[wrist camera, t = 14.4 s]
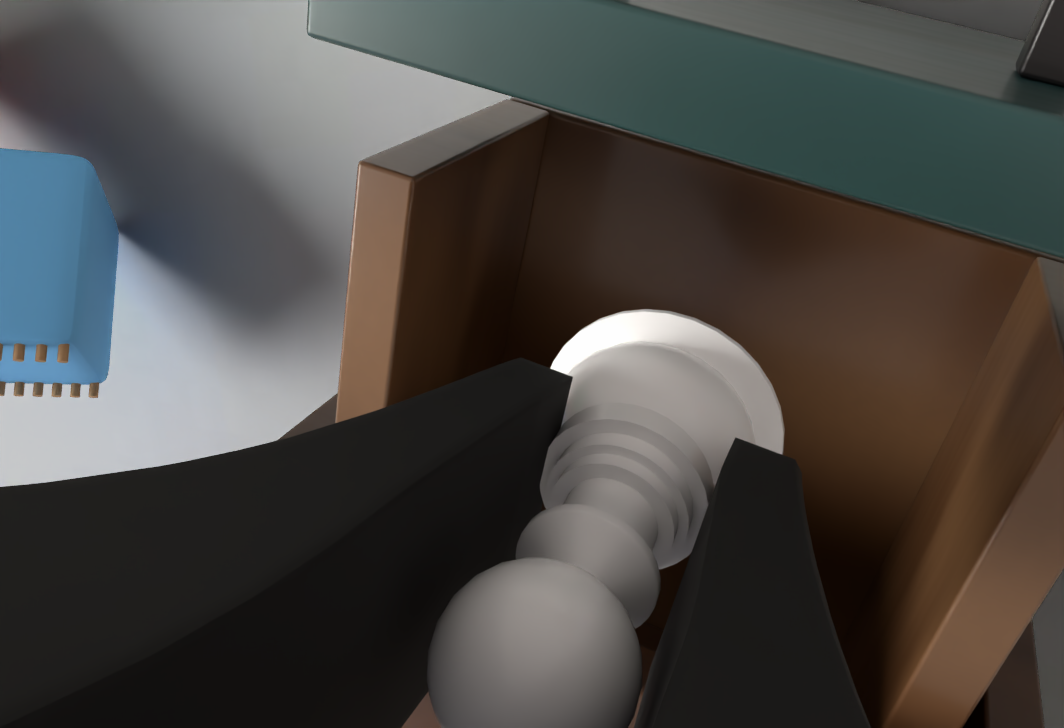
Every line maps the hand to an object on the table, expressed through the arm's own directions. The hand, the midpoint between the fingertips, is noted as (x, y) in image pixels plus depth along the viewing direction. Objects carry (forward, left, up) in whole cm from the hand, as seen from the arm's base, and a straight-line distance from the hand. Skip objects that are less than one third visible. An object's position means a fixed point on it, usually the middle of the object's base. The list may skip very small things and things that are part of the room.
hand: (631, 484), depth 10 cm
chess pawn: (0, 0, -2) cm, 2 cm away
